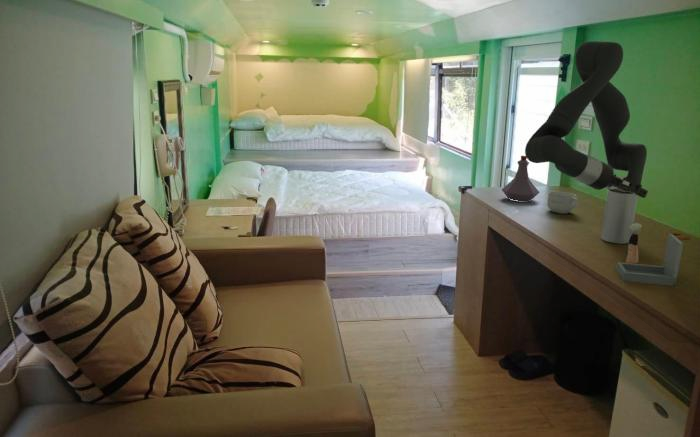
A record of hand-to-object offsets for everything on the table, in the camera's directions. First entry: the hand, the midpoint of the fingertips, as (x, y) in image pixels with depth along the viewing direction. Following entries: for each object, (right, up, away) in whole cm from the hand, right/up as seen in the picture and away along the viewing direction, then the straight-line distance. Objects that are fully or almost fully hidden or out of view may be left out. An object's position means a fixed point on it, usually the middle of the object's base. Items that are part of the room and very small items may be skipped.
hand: (634, 192), depth 152 cm
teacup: (+6, -5, +65) cm, 66 cm away
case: (0, -24, -5) cm, 24 cm away
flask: (-5, +1, +87) cm, 87 cm away
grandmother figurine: (+2, -21, +6) cm, 22 cm away
